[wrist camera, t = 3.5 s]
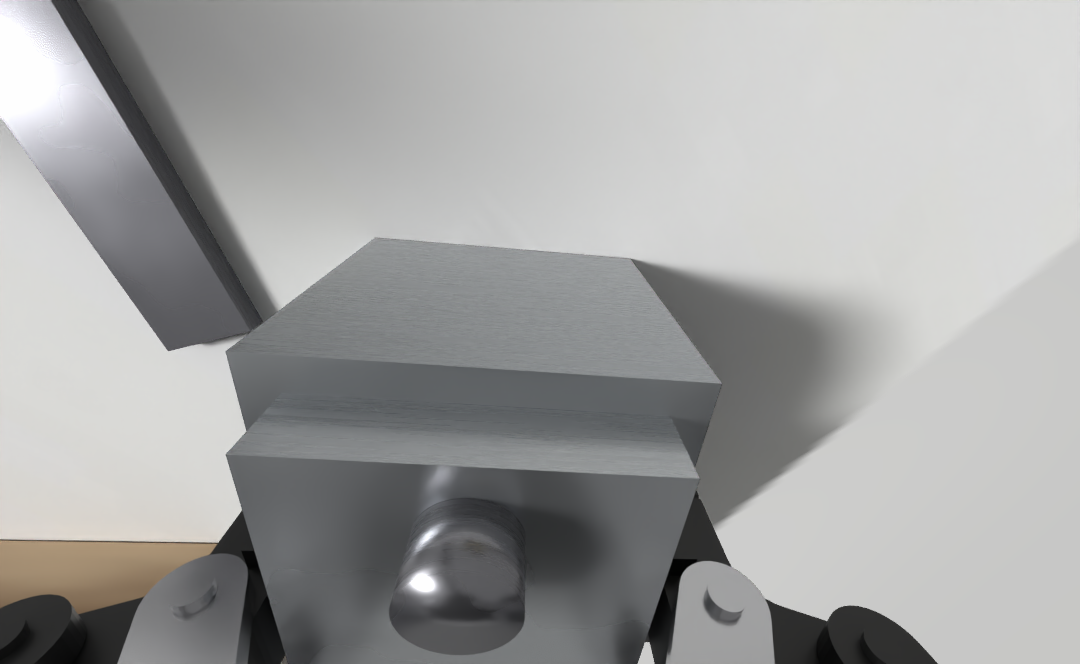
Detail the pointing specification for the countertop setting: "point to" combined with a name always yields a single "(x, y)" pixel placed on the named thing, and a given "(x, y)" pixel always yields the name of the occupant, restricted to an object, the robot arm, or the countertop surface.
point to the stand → (89, 570)
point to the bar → (114, 174)
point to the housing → (468, 456)
